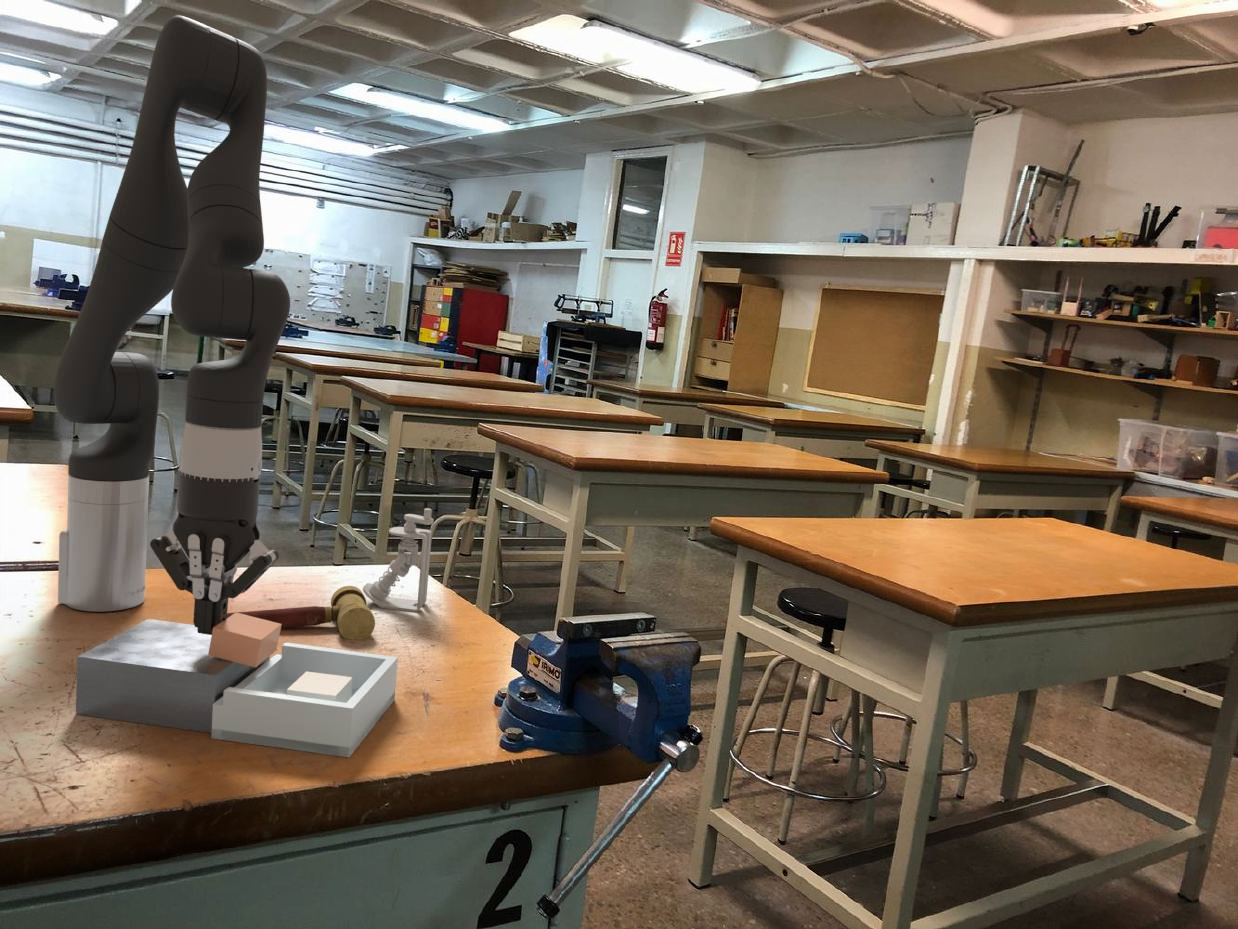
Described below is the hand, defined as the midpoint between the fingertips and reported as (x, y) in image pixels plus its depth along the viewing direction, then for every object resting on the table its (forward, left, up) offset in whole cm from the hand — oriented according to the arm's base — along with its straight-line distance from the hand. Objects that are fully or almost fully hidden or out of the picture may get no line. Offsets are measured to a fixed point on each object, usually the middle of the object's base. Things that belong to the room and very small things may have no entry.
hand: (209, 631), depth 95 cm
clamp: (+8, +39, -8) cm, 41 cm away
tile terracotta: (+3, 0, -2) cm, 4 cm away
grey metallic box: (-3, 0, -8) cm, 9 cm away
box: (+11, 0, -8) cm, 14 cm away
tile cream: (+12, 0, -4) cm, 13 cm away
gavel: (-2, +25, -9) cm, 26 cm away
